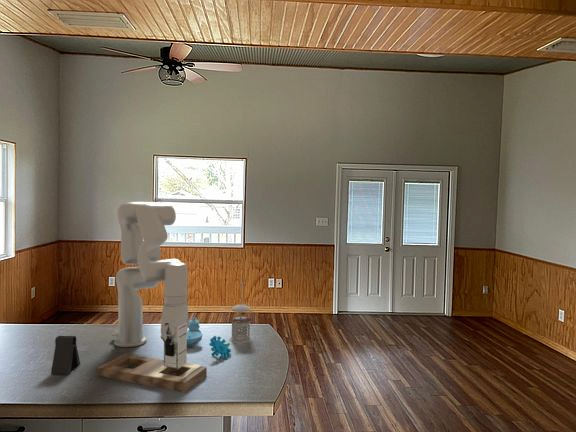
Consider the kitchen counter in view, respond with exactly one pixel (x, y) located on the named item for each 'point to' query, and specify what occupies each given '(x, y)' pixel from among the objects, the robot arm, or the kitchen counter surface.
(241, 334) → the french press
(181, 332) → the syrup box
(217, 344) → the gear
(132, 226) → the robot arm
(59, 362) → the phone stand
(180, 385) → the tray
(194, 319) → the light blue rounded piece
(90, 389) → the kitchen counter surface
